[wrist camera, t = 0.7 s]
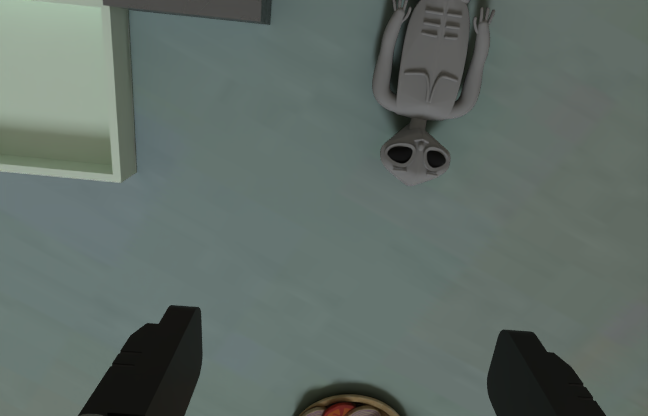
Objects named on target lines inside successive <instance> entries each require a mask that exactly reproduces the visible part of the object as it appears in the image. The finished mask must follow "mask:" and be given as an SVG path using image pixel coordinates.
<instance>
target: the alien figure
mask: <svg viewBox="0 0 648 416" xmlns="http://www.w3.org/2000/svg"><path fill="white" fill-rule="evenodd" d="M392 1H393V8H394V13H393V15H392V16H391V18H390V20H389V22H388V24H387V26H386V28H385V30H384V33H383V37H382V42H381V48H380V52H379V56H378V59H377V63H376V66H375V70H374V75H373V81H372V89H373V94H374V97H375V98H376V100H377V102H378V103H379V104H380V105H381V106H383V107H384V108H386V109H388V110H390V111H393V112H396V114H398V115H402V116H405V117H409V118H411V121H410V123H409V124H408V125H406V126H405V127H404V128H403V129H401V130H400V131H399V132H398V133H397V134H395V135H394V136H393V137H392V138H391V139H389V140H388V141H387V142H386V143H385V144H384V145H383V146H382V148H381V151H380V157H381V161H382V163H383V165H384V166H385V167H386V169H387V170H388V171H389V172H390V173H392V174H393V175H394V176H395V177H397V178H398V179H399V180H400V181H402V182H403V183H404V184H406V185H407V186H413V185H416V184H419V183H423V182H426V181H429V180H432V179H434V178H437V177H438V176H440V175H442V174H443V173H444V172H446V171H447V169H448V168H449V165H450V153H449V152H448V150H446V149H445V148H444V147H443V146H442V145H441V144H440V143H439V142H438V141H437V140H435V139H434V138H433V137H432V136H431V135H430V134H429V133H428V132H427V131H426V130H425V128H426V122H427V120H445V119H453V118H458V117H461V116H463V115H465V114H467V113H468V112H469V111H470V110H471V109H472V108H473V107H474V105H475V104H476V102H477V99H478V96H479V93H480V88H481V82H482V74H483V67H484V63H485V60H486V58H487V55H488V51H489V46H490V32H489V26H488V25H489V24H490V22H491V20H492V18H493V16H494V13H495V10H492V12H491V15H490V17H489V19H488V16H489V7H487V8H486V14H485V18H484V20H483V10H484V8H483V7H481V8H480V20H479V23H478V28H477V23H476V20H477V17H474V19H473V25H474V29H475V32H476V33H477V35H476V41H475V47H474V51H473V56H472V59H471V62H470V65H469V68H468V71H467V74H466V77H465V80H464V84H463V88H462V91H461V95H460V97H459V98H458V100H457V101H455V100H456V97H457V94H458V91H459V87H460V83H461V79H462V75H463V71H464V65H465V60H466V55H467V48H468V41H469V30H470V18H469V11H468V7H467V4H468V3H469V1H470V0H420V1H419V2H418V4H417V5H416V7H415V8H414V10H413V12H412V14H411V17H410V20H409V23H408V26H407V30H406V34H405V39H404V44H403V50H402V56H401V63H400V70H399V78H398V87H397V95H395V94H394V93H393V92H392V91H391V90H390V79H391V72H392V62H393V53H394V47H395V43H396V40H397V37H398V34H399V31H400V27H401V24H402V23H403V22H404V21H405V20H406V19H407V18H408V16H409V15H410V12H411V9H412V8H411V7H409V9H408V12H407V14H406V15H405V9H406V6H407V2H408V0H405V1H404V5H403V8H401V3H402V0H399V1H398V9H397V6H396V0H392ZM404 15H405V16H404ZM487 20H488V21H487Z"/></svg>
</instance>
